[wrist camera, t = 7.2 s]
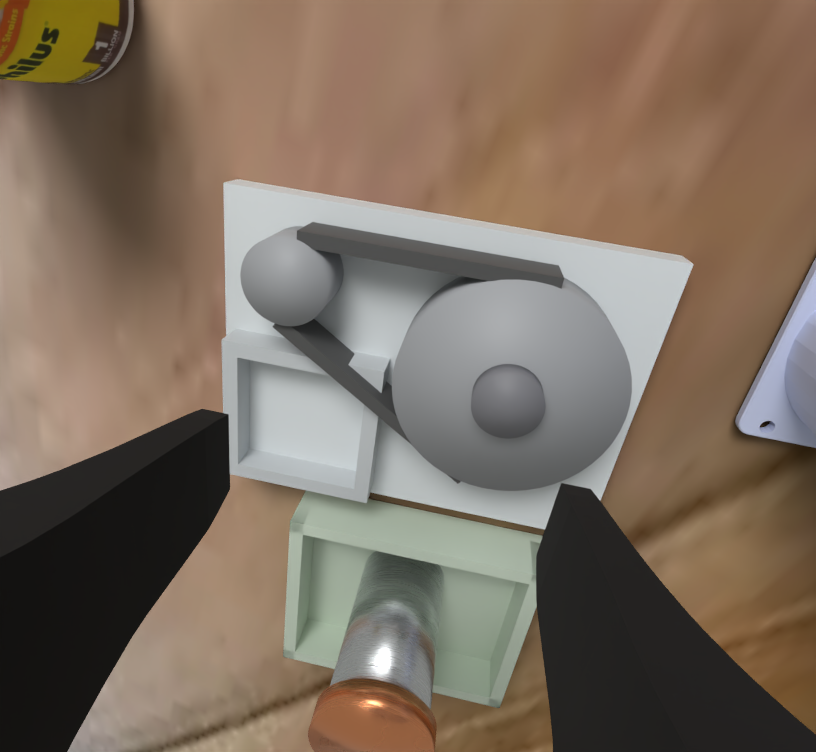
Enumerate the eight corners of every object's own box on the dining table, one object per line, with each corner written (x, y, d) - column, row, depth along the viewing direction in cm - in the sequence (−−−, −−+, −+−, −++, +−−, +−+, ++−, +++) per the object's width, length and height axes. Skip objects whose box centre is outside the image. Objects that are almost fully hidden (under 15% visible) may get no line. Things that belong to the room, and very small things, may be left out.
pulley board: (681, 256, 18) (727, 288, 15) (581, 519, 24) (596, 590, 20) (238, 179, 19) (180, 192, 16) (240, 447, 25) (197, 502, 21)
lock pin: (440, 537, 25) (419, 706, 18) (457, 607, 26) (445, 786, 19) (348, 543, 26) (292, 705, 19) (371, 610, 27) (328, 782, 20)
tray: (542, 535, 24) (547, 577, 22) (499, 662, 28) (499, 708, 26) (308, 485, 25) (290, 521, 23) (299, 616, 29) (283, 656, 27)
